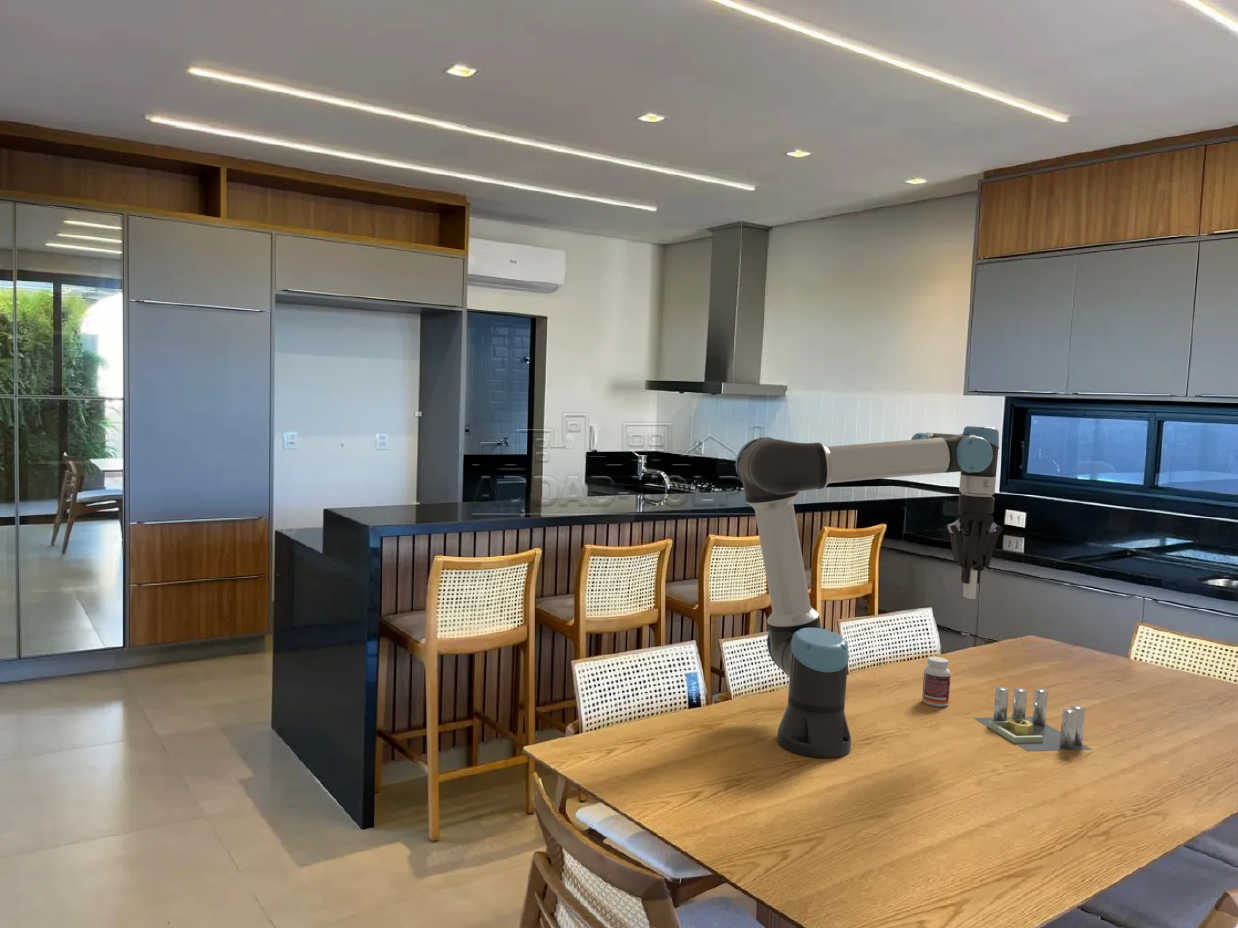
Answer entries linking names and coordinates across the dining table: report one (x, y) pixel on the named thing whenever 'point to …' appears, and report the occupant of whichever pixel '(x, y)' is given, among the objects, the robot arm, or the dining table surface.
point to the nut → (1020, 727)
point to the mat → (1049, 735)
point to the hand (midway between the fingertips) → (969, 597)
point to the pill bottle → (936, 682)
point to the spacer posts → (1041, 714)
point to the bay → (999, 729)
